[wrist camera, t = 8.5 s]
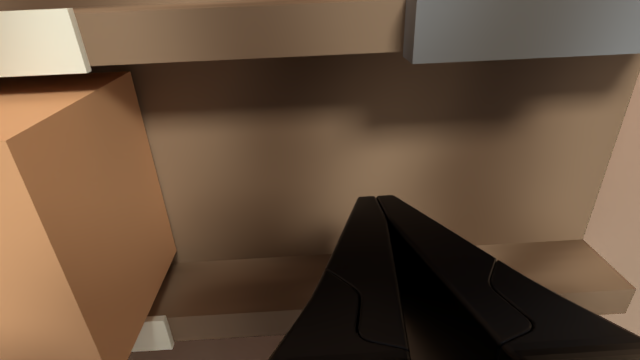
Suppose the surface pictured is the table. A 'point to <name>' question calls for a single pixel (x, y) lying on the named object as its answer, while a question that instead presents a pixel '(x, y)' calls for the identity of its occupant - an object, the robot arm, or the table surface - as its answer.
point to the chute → (352, 133)
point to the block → (77, 218)
